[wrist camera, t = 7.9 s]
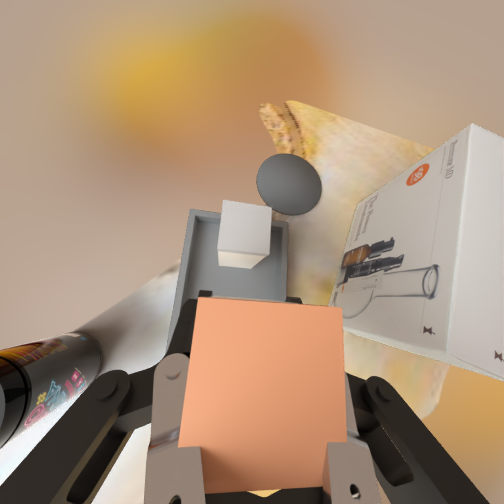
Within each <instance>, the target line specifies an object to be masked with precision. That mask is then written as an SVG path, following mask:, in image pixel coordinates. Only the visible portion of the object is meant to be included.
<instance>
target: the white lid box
mask: <svg viewBox="0 0 504 504" xmlns="http://www.w3.org/2000/svg"><path fill="white" fill-rule="evenodd" d="M271 215H272V207H267V206H261V205H254V204H246V203H241V202H234V201H227V200H223V206H222V214H221V222H220V230H219V238H218V246H217V251H218V260H219V266H228V267H238V268H248V269H251V268H253V267H254V266H255V265H256V264H257V263H258V262H260V261H261V260H262V259H263V258H264V257H267V256H268V255H269V251H270V233H271Z"/></svg>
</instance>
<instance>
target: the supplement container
mask: <svg viewBox="0 0 504 504" xmlns="http://www.w3.org/2000/svg"><path fill="white" fill-rule="evenodd" d="M101 362H102V352H101V348H100V346H99V344H98V343H97V341H96V340H95V339H93V338H92V337H91V336H89V335H87V334H84V333H79V332H70V333H65V334H61V335H57V336H53V337H50V338H45V339H41V340H37V341H33V342H29V343H25V344H21V345H17V346H13V347H9V348H5V349H1V350H0V449H1V448H3V447H4V446H5V445H7V444H8V443H9V442H11V441H12V440H14V439H15V438H17V437H18V436H19V435H21V434H22V433H24V432H25V431H27V430H28V429H29V428H31V427H32V426H34V425H35V424H37V423H38V422H39V421H41V420H42V419H44V418H45V417H47V416H48V415H49V414H51V413H52V412H54V411H55V410H57V409H58V408H59V407H61V406H62V405H64V404H65V403H67V402H68V401H69V400H71V399H72V398H74V397H75V396H76V395H78V394H79V393H81V392H82V391H84V390H85V389H86V388H87V387H88V386H89V385H90V384H91V383H92V382H93V380H94V379H95V377H96V376H97V374H98V372H99V369H100V366H101Z"/></svg>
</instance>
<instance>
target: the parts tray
mask: <svg viewBox="0 0 504 504" xmlns="http://www.w3.org/2000/svg"><path fill="white" fill-rule="evenodd" d="M221 214H222V213H216V212H209V211H202V210H195V209H190V211H189V217H188V223H187V229H186V235H185V241H184V247H183V253H182V259H181V264H180V270H179V276H178V282H177V288H176V294H175V300H174V306H173V311H172V317H171V323H170V329H169V335H168V341H167V347H166V353H167V350H168V347H169V344H170V341H171V338H172V336H173V333H174V330H175V327H176V324H177V321H178V318H179V316H180V312H181V309H182V306H183V304H184V303H185V302H186V301H187V300H188V299H189V298H190V299H197V298H198V294H199V291H200V290H210V291H213V295H212V296H226V297H240V298H253V299H267V300H275V301H283V302H285V300H286V286H287V254H288V222H281V221H273V220H271V233H270V251H269V255H268V256H267V257H264V258H263V259H262V260H261V261H260V262H258V263H257V264H256V265H255V266H254V267H253V268H251V269H248V268H238V267H228V266H219V260H218V251H217V246H218V238H219V230H220V222H221ZM166 353H165V354H166Z"/></svg>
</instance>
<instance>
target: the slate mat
mask: <svg viewBox="0 0 504 504" xmlns="http://www.w3.org/2000/svg"><path fill="white" fill-rule="evenodd" d="M257 188H258V191H259V194H260V196H261V198H262V199H263V200H264V202H265V203H266V204H267V205H268V206H269V207H272V209H273V210H275V211H277V212H279V213H282V214H286V215H300V214H303V213H306V212H308V211H309V210H311V209H312V208H313V207H314V206H315V205H316V204H317V202H318V200H319V198H320V195H321V181H320V178H319V176H318V174H317V172H316V170H315V169H314V168H313V167H312V166H311V165H310V164H309V163H308V162H307V161H305V160H304V159H302V158H300V157H298V156H296V155H292V154H277V155H274V156H271V157H269V158H268V159H266V161H264V162H263V163H262V165H261V166H260V168H259V171H258V174H257Z"/></svg>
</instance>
